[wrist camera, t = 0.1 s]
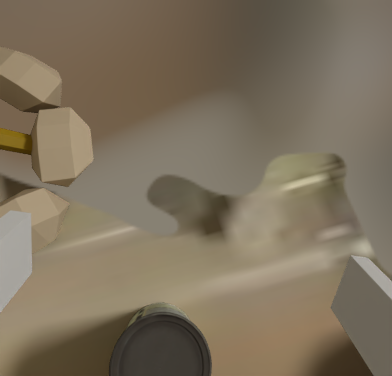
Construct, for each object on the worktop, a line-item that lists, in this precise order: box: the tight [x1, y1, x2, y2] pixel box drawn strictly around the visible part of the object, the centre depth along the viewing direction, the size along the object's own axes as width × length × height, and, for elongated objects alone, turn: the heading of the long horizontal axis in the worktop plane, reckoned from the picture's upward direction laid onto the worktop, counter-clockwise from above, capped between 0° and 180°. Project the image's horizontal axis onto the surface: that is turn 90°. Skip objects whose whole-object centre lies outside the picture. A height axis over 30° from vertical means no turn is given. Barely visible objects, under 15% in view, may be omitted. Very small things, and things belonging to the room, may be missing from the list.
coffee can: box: [109, 303, 212, 376], centre depth 38 cm, size 10×10×14 cm
